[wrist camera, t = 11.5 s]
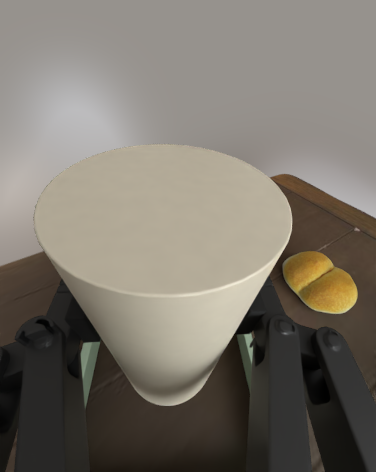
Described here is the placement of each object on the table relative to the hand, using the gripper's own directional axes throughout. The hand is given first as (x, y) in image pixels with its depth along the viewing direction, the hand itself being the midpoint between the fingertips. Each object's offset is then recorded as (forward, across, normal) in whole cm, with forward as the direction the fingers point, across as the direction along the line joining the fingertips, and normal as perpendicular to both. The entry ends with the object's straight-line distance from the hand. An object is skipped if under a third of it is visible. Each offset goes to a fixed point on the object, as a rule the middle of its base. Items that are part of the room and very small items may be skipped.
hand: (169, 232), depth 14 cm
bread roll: (+4, +20, -14) cm, 25 cm away
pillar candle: (-5, 0, -8) cm, 10 cm away
